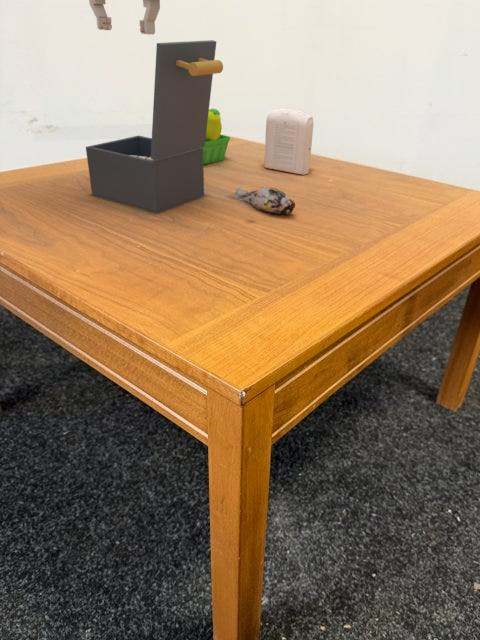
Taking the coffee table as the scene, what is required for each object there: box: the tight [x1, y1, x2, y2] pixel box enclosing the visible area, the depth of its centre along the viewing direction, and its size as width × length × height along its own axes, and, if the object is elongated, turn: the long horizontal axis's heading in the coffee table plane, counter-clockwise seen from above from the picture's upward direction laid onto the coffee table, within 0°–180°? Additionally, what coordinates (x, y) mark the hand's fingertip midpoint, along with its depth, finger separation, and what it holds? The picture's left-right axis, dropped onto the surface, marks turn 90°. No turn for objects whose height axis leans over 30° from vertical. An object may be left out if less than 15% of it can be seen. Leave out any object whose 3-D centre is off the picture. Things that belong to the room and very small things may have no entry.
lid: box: [151, 39, 224, 160], centre depth 85 cm, size 16×13×5 cm
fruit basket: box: [201, 108, 231, 166], centre depth 120 cm, size 11×9×11 cm
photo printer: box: [263, 107, 314, 176], centre depth 115 cm, size 10×4×12 cm, turn 62°
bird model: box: [230, 187, 296, 215], centre depth 95 cm, size 8×14×4 cm, turn 17°
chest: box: [85, 135, 205, 215], centre depth 97 cm, size 16×13×9 cm
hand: (125, 32), depth 86 cm, fingers open, 8 cm apart
